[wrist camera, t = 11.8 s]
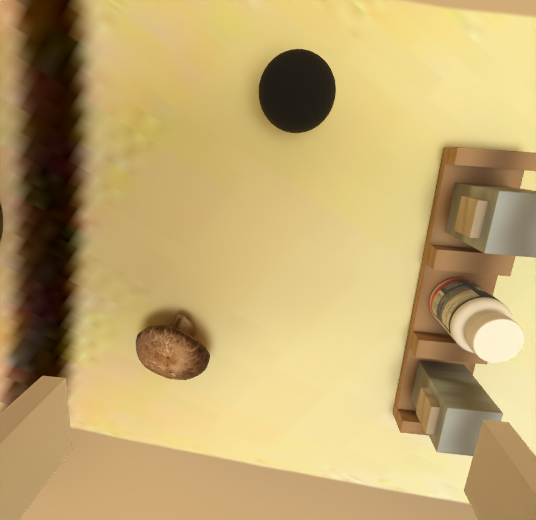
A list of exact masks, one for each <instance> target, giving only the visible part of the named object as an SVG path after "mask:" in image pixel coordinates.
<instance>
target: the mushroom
mask: <svg viewBox="0 0 536 520" xmlns="http://www.w3.org/2000/svg"><path fill="white" fill-rule="evenodd" d="M195 335H196V332H195V328H194V326H193V324H192V323H191V322H190V321H189V320H188V319H187V318H186V317H185V316H184V315H182V314H179V313H178V314H177V315H176V319H175V321H174V323H173V324H172V325H171V327H168V326H150V327H148V328H146V329H145V330H143V331H142V332H140V333H139V334H138V335H137V339H136V351H137V355H138V357H139V360H140V361H141V363H142V364H143V365H144V366H145V367H146V368H147V369H149V370H151V371H152V372H154V373H156V374H159V375H161V376H164V377H166V378H169V379H178V380H187V379H190V378H193V377H195V376H198V375H199V374H201V373H202V372H203V371H204V370H205V369H206V367H207V365H208V362H209V359H210V355H209V352H208V351H207V349H206V348H205V346H203V345H202V344H201V343H200V342H198V341H197V340H195Z"/></svg>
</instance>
